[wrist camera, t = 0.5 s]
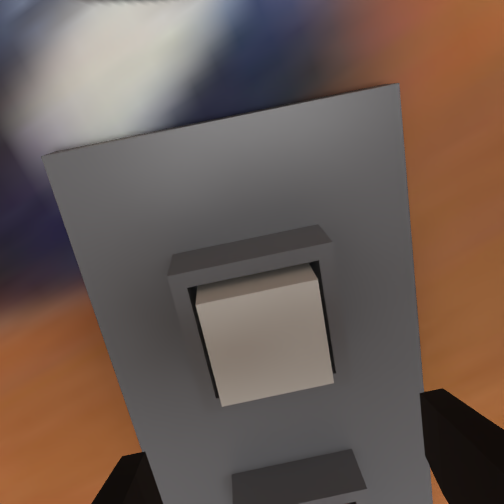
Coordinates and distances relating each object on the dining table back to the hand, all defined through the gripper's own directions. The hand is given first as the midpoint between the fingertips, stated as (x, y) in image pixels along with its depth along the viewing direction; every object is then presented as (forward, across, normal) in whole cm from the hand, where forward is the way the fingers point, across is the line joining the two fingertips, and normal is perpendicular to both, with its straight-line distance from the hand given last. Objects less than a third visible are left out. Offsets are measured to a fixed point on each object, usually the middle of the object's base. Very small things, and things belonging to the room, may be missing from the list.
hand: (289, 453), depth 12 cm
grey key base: (+10, 0, +6) cm, 12 cm away
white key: (+7, 0, 0) cm, 7 cm away
